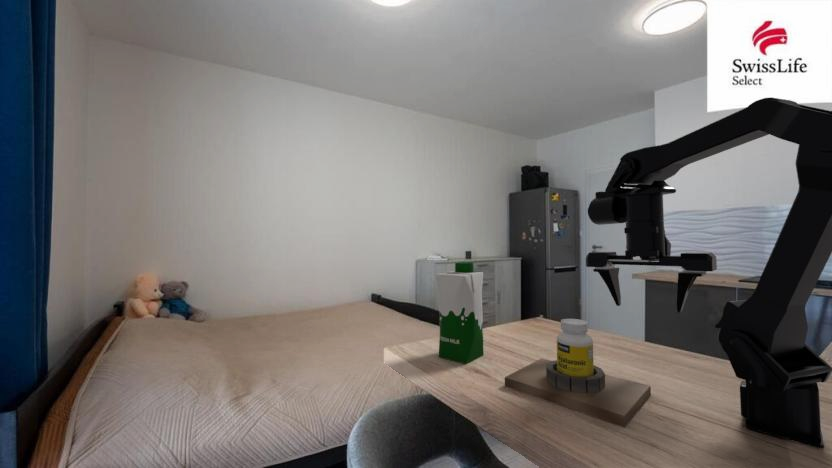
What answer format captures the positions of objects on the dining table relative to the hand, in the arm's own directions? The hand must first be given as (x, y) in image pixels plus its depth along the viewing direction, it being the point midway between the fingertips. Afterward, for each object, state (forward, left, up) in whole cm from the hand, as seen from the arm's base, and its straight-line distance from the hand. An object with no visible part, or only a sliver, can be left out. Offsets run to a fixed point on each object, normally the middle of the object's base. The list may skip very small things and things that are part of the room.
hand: (647, 308), depth 61 cm
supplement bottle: (+7, +15, -11) cm, 20 cm away
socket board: (+7, +15, -12) cm, 20 cm away
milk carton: (+31, +15, -12) cm, 37 cm away
